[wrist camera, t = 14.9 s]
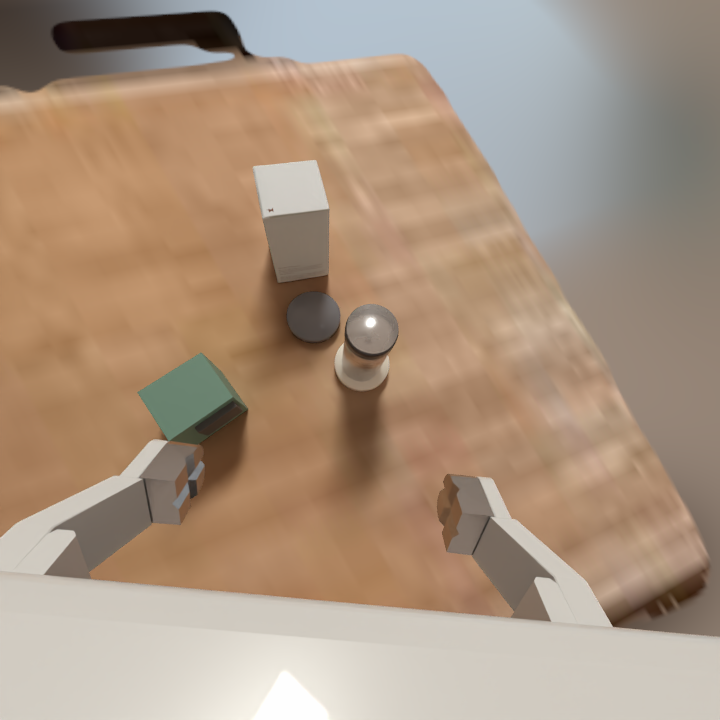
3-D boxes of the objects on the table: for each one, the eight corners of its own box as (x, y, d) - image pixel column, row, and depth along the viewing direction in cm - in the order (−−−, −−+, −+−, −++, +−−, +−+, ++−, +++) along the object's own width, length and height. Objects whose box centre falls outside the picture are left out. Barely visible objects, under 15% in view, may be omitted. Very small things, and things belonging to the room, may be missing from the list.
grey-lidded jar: (358, 390, 41) (369, 363, 31) (332, 358, 42) (334, 322, 32) (389, 366, 43) (410, 332, 32) (364, 336, 44) (376, 293, 33)
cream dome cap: (357, 402, 42) (358, 400, 41) (323, 360, 43) (323, 357, 42) (398, 370, 44) (400, 367, 43) (365, 330, 45) (366, 327, 44)
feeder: (198, 451, 38) (172, 446, 32) (168, 405, 40) (137, 392, 33) (251, 413, 40) (236, 402, 34) (221, 371, 41) (201, 352, 35)
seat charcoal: (308, 353, 43) (307, 349, 42) (277, 313, 45) (275, 309, 43) (350, 324, 45) (351, 320, 44) (319, 287, 46) (319, 282, 45)
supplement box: (329, 276, 47) (331, 210, 35) (277, 284, 46) (260, 218, 34) (319, 233, 49) (317, 158, 37) (269, 240, 48) (250, 163, 36)
